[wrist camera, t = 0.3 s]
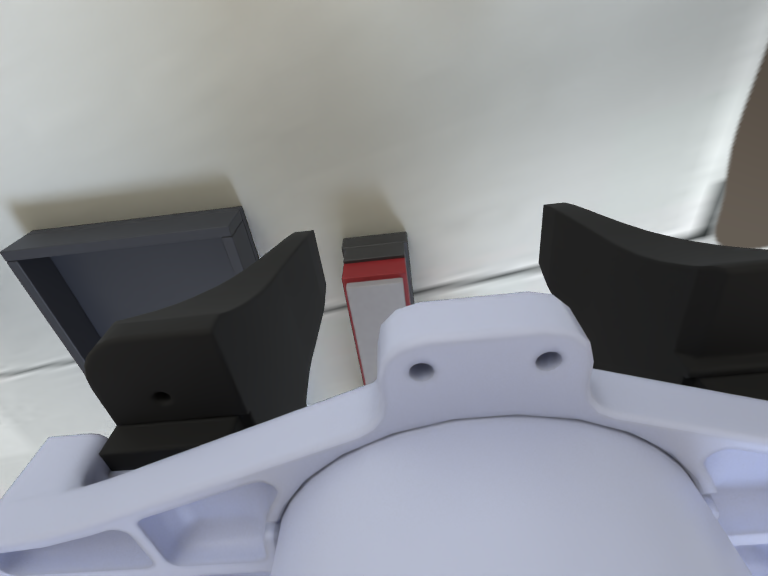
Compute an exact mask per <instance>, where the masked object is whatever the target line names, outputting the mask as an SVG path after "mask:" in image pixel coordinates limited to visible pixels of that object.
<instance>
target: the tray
mask: <svg viewBox="0 0 768 576" xmlns="http://www.w3.org/2000/svg"><path fill="white" fill-rule="evenodd" d="M0 254H1V255H2V257H3V258H4V259H5V261H8V262H7V264H8V265H9V267H10V268H11V269H12V271H13V272H14V274H15V275H16V277H17V278H18V279H19V281H20V282H21V284H22V285H23V287H24V288H25V290H26V291H27V292H28V294H29V295H30V297H31V298H32V300H33V301H34V302H35V304H36V305H37V307H38V308H39V310H40V311H41V312H42V314H43V315H44V317H45V318H46V320H47V321H48V323H49V324H50V325H51V327H52V328H53V330H54V331H55V333H56V334H57V335H58V337H59V338H60V340H61V341H62V343H63V344H64V345H65V347H66V348H67V350H68V351H69V353H70V354H71V356H72V357H73V358H74V360H75V361H76V363H77V364H78V366H79V367H80V368H81V370H82V371H83V373H84V374H85V369H84V364H85V361H86V357H87V355H88V354H89V352H90V351H91V350H92V349H93V347H94V346H95V345H96V344H97V343H98V341H99V340H100V339H101V338H102V337H103V335H104V334H105V333H106V332H107V331H108V329H109V328H110V327H111V326H112V324H113V323H114V322H115V321H119V320H123V319H127V318H131V317H134V316H138V315H142V314H146V313H149V312H153V311H156V310H159V309H162V308H165V307H168V306H171V305H174V304H177V303H180V302H182V301H185V300H187V299H190V298H192V297H194V296H197V295H199V294H201V293H203V292H205V291H207V290H210V289H212V288H214V287H216V286H218V285H220V284H222V283H223V282H225V281H227V280H229V279H231V278H232V277H234V276H236V275H237V274H239V273H240V272H242V271H243V270H245V269H246V268H248V267H249V266H250V265H252V264H253V263H255V262H256V261H257V260H259V258H258V255H257V251H256V248H255V245H254V242H253V239H252V236H251V233H250V230H249V227H248V224H247V221H246V218H245V214H244V211H243V208H242V207H241V206H240V207H232V208H223V209H215V210H206V211H198V212H189V213H181V214H172V215H164V216H155V217H147V218H138V219H129V220H121V221H112V222H104V223H95V224H87V225H78V226H70V227H61V228H53V229H44V230H36V231H31V232H30V233H28V234H27V235H25V236H24V237H22V238H21V239H19V240H17V241H16V242H14V243H13V244H11V245H10V246H8V247H7V248H5V249H4V250H2V251H1V252H0ZM306 407H307V405H306Z"/></svg>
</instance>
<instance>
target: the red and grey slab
mask: <svg viewBox="0 0 768 576" xmlns="http://www.w3.org/2000/svg"><path fill="white" fill-rule="evenodd" d="M342 252H343V257H344V260H343V262H344V267H343V274H342V283H343V287H344V292H345V297H346V302H347V307H348V311H349V316H350V321H351V326H352V330H353V335H354V340H355V345H356V349H357V354H358V359H359V364H360V369H361V373H362V378H363V383H364V385H367V384H370V383H373V382H374V381H375V380H376V379H377V348H378V338H379V333H380V327H381V324H382V323H383V322H384V321H385V320H386V319H387V318H388V317H389V316H390V315H391V314H392V313H393V312H394V311H395V310H397V309H400V308H403V307H406V306H409V305H412V304H414V298H413V289H412V279H411V270H410V260H409V250H408V241H407V233H406V232H400V233H391V234H381V235H372V236H363V237H354V238H345V239H343V245H342Z"/></svg>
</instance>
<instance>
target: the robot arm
mask: <svg viewBox="0 0 768 576" xmlns="http://www.w3.org/2000/svg"><path fill="white" fill-rule="evenodd" d="M539 265H540V268H541V270H542V273H543V276H544V278H545V281H546V283H547V286H548V288H549V290H550V292H551V293H552V294H544V293H536V292H518V293H508V294H498V295H487V296H477V297H467V298H457V299H446V300H436V301H426V302H418V303H415V304H412V305H409V306H406V307H403V308H400V309H397V310H395V311H394V312H393V313H392V314H391V315H390V316H389V317H388V318H387V319H386V320H385V321H384V322H383V323H382V324H381V327H380V333H379V338H378V348H377V379H376V380H375V381H374V382H373V383H370V384H367V385H364V386H362V387H359V388H356V389H353V390H351V391H348V392H345V393H342V394H340V395H337V396H334V397H331V398H329V399H326V400H323V401H321V402H318V403H315V404H312V405H310V406H307V407H306V396H307V388H308V379H309V371H310V366H311V361H312V356H313V352H314V348H315V344H316V340H317V336H318V332H319V328H320V324H321V320H322V316H323V311H324V305H325V293H326V281H325V277H324V273H323V269H322V264H321V260H320V256H319V251H318V247H317V243H316V238H315V234H314V230H312V231H303V232H295V233H293V234H291V235H290V236H288V237H287V238H286V239H284V240H283V241H282V242H280V243H279V244H278V245H277V246H275V247H274V248H273V249H272V250H270V251H269V252H268V253H267V254H265V255H264V256H263V257H262V258H260V259H259V260H257V261H256V262H255V263H253V264H252V265H250V266H249V267H248V268H246V269H245V270H243V271H242V272H240V273H239V274H237V275H236V276H234V277H232V278H231V279H229V280H227V281H225V282H223V283H222V284H220V285H218V286H216V287H214V288H212V289H210V290H207V291H205V292H203V293H201V294H199V295H197V296H194V297H192V298H190V299H187V300H185V301H182V302H180V303H177V304H174V305H171V306H168V307H165V308H162V309H159V310H156V311H153V312H149V313H146V314H142V315H138V316H134V317H131V318H127V319H123V320H119V321H115V322H114V323H113V324H112V326H111V327H110V328H109V329H108V331H107V332H106V333H105V334H104V335H103V337H102V338H101V339H100V340H99V341H98V343H97V344H96V345H95V346H94V347H93V349H92V350H91V351H90V352H89V354H88V355H87V357H86V361H85V364H84V369H85V376H86V379H87V381H88V383H89V385H90V386H91V388H92V390H93V392H94V393H95V394H96V396H97V397H98V399H99V400H100V402H101V403H102V405H103V406H104V407H105V409H106V410H107V412H108V413H109V415H110V416H111V418H112V419H113V420H114V422H115V423H116V425H117V426H116V428H115V429H114V431H113V432H112V434H111V436H110V437H109V439H108V438H107V437H105V436H102V435H100V434H92V433H91V434H79V435H66V436H54V437H49V438H48V439H47V440H46V441H45V442H44V444H43V445H42V446H41V448H40V449H39V450H38V452H37V453H36V454H35V455H34V457H33V458H32V459H31V461H30V462H29V463H28V464H27V466H26V467H25V468H24V470H23V471H22V472H21V473H20V475H19V476H18V477H17V479H16V480H15V481H14V482H13V484H12V485H11V486H10V488H9V489H8V490H7V492H6V493H5V494H4V495H3V497H2V498H1V499H0V576H768V250H765V249H752V248H740V247H730V246H721V245H714V244H708V243H701V242H694V241H689V240H684V239H679V238H674V237H670V236H666V235H662V234H657V233H654V232H650V231H646V230H643V229H640V228H637V227H634V226H630V225H627V224H624V223H622V222H619V221H616V220H613V219H610V218H608V217H605V216H603V215H600V214H597V213H595V212H592V211H589V210H587V209H584V208H581V207H579V206H576V205H572V204H569V203H556V204H547V205H544V207H543V218H542V230H541V242H540V254H539Z"/></svg>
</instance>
